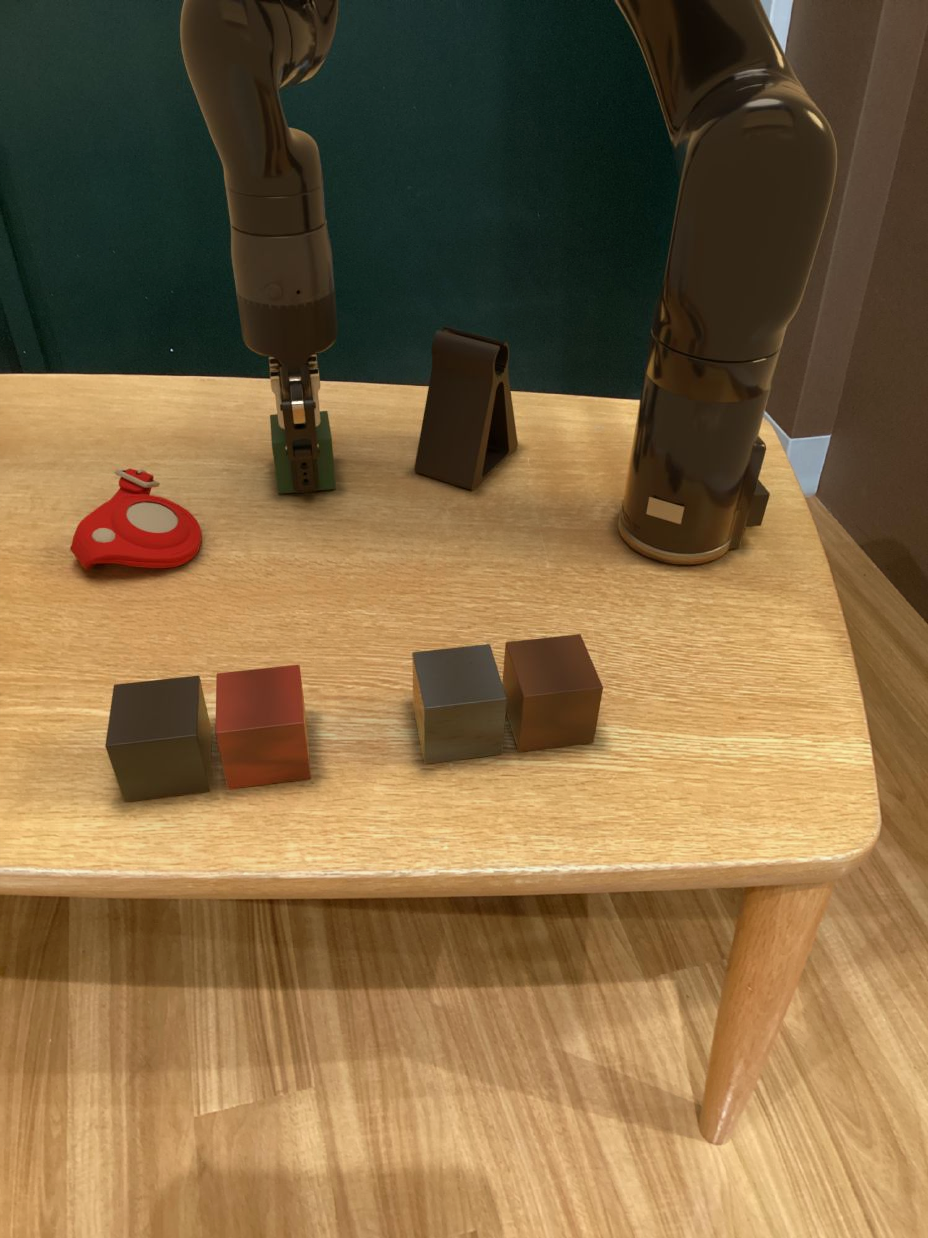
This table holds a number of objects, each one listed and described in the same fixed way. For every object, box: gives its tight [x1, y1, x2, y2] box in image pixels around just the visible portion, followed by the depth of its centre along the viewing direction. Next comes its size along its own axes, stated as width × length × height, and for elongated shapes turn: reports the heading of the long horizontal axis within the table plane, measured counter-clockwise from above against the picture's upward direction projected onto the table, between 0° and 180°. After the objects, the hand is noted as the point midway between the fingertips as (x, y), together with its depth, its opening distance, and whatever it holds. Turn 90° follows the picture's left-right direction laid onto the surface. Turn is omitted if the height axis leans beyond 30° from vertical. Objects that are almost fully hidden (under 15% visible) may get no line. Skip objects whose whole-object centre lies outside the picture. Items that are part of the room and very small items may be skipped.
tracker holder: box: [69, 468, 202, 570], centre depth 73 cm, size 12×4×10 cm
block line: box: [104, 633, 604, 803], centre depth 57 cm, size 29×5×5 cm, turn 101°
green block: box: [269, 410, 337, 494], centre depth 80 cm, size 5×5×5 cm
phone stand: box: [413, 325, 519, 491], centre depth 81 cm, size 9×6×12 cm, turn 150°
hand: (304, 472), depth 82 cm, fingers closed on green block, 5 cm apart
